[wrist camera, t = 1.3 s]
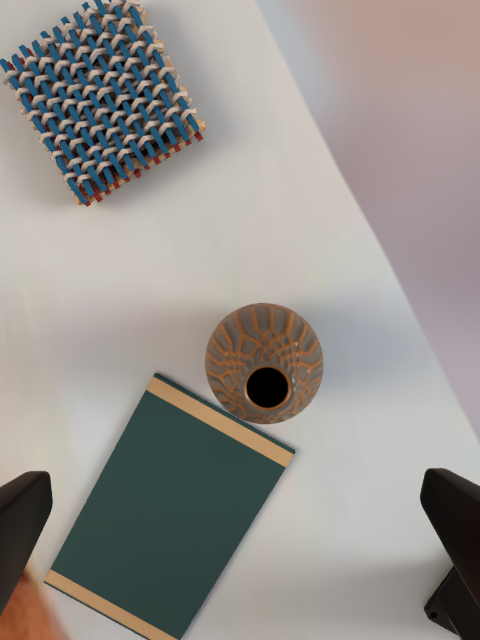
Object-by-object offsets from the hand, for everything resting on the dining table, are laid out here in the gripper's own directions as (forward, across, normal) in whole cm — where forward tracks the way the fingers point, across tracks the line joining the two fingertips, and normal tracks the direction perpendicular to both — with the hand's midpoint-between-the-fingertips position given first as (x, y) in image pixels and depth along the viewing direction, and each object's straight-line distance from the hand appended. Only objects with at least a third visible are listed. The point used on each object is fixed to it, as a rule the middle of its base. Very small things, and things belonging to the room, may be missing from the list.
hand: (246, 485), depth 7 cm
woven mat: (+17, +9, -15) cm, 24 cm away
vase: (+14, -2, +1) cm, 14 cm away
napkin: (+13, +4, +15) cm, 20 cm away
